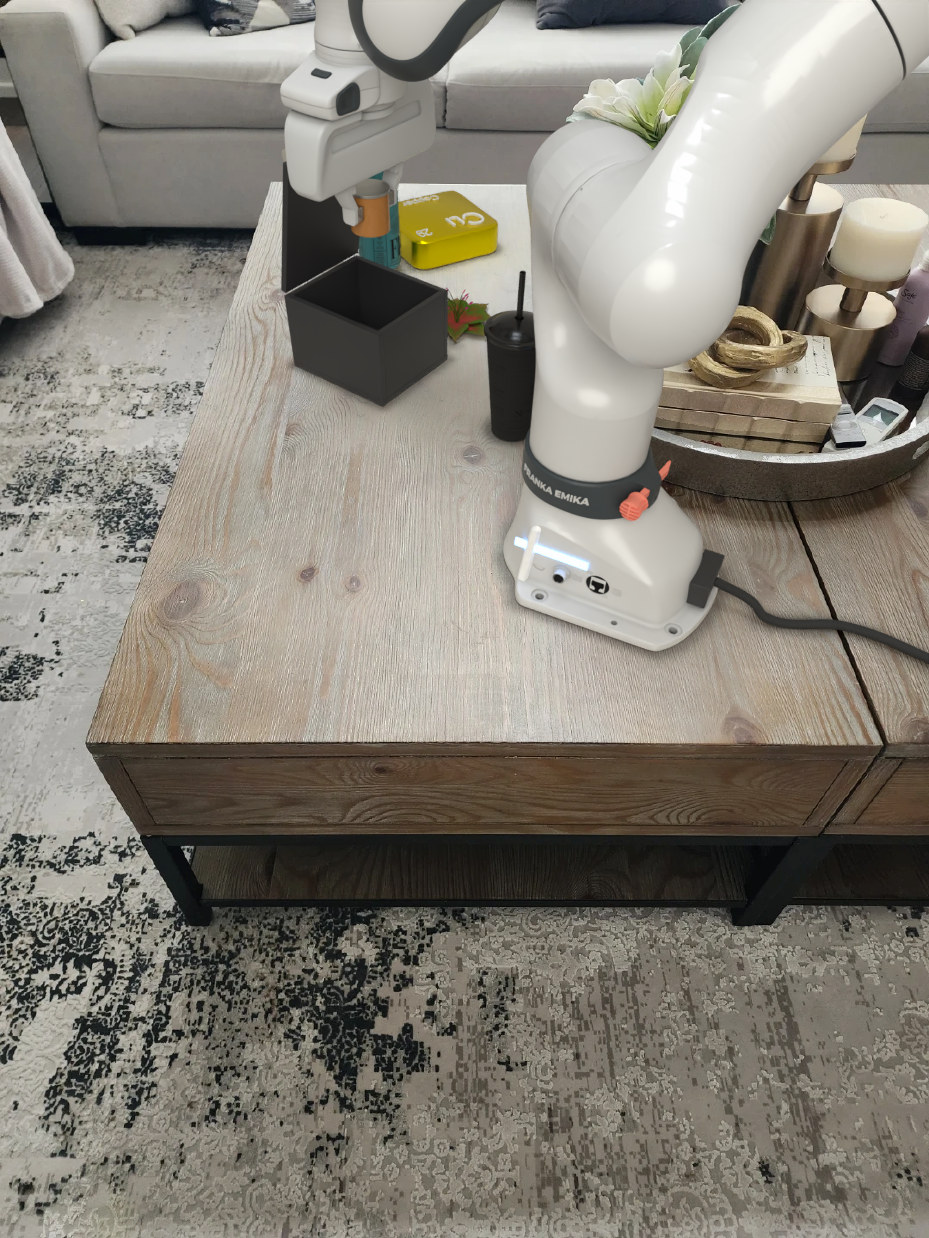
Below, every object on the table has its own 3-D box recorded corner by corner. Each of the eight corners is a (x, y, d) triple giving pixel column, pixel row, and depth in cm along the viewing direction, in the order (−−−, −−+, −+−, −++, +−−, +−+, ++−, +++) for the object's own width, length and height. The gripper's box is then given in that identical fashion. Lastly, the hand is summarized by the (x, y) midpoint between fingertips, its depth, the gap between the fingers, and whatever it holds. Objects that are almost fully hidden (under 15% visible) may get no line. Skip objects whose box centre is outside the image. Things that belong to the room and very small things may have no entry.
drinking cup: (469, 438, 102) (474, 279, 87) (495, 405, 107) (503, 249, 92) (527, 456, 100) (543, 297, 85) (551, 422, 105) (570, 264, 90)
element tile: (454, 214, 142) (454, 185, 139) (501, 251, 134) (503, 221, 130) (374, 233, 137) (372, 203, 134) (418, 273, 129) (417, 241, 125)
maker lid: (370, 129, 98) (337, 110, 99) (288, 166, 91) (253, 144, 92) (358, 252, 111) (329, 234, 112) (285, 293, 104) (255, 273, 105)
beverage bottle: (396, 284, 126) (390, 139, 111) (353, 279, 127) (341, 134, 112) (407, 264, 131) (402, 121, 116) (365, 259, 131) (355, 117, 116)
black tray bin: (447, 359, 113) (448, 290, 106) (382, 406, 106) (378, 335, 99) (361, 323, 119) (356, 254, 112) (294, 365, 112) (283, 295, 104)
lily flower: (498, 347, 116) (500, 316, 112) (410, 344, 116) (409, 313, 112) (499, 303, 123) (500, 273, 120) (417, 300, 123) (416, 269, 120)
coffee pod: (400, 227, 96) (398, 186, 93) (373, 242, 93) (370, 200, 90) (368, 216, 98) (365, 175, 94) (341, 230, 95) (337, 188, 92)
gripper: (403, 41, 91) (406, 177, 101) (266, 91, 80) (286, 238, 90) (450, 53, 88) (449, 191, 99) (316, 107, 77) (331, 255, 88)
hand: (370, 214), depth 94 cm, fingers closed on coffee pod, 4 cm apart
